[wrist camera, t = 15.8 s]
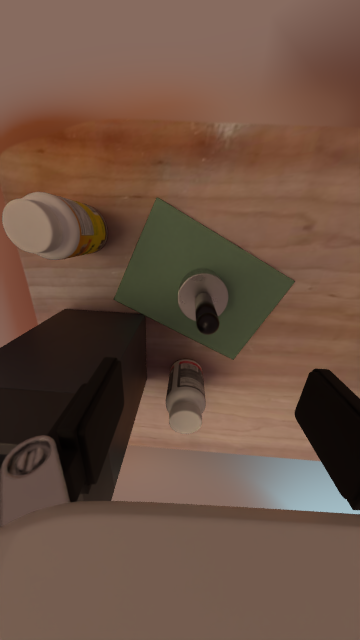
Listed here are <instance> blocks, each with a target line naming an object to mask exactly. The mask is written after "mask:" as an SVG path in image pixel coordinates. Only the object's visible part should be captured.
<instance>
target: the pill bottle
mask: <svg viewBox="0 0 360 640" xmlns="http://www.w3.org/2000/svg"><path fill="white" fill-rule="evenodd" d="M205 406H206V400H205V391H204V381H203V373H202V369H201V366H200V365H199V364H198V363H197V362H195V361H193V360H190V359H182V360H179V361H177V362H175V363H174V364H173V365H172V367H171V369H170V374H169V382H168V389H167V396H166V408H167V410H168V412H169V424H170V426H171V428H172V429H173V430H174V431H176V432H178V433H181V434H191V433H194V432H196V431H197V430H199V429H200V427H201V425H202V413H203V411H204V409H205Z"/></svg>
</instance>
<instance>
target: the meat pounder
mask: <svg viewBox="0 0 360 640" xmlns="http://www.w3.org/2000/svg"><path fill="white" fill-rule="evenodd" d="M227 303H228V291H227V288H226V286H225V284H224V283H223V281H222V280H221V278H220V277H219V276H218V275H217V274H216V273H215V272H213V271H211V270H208V269H196V270H193V271H191V272H189V273H188V274H187V275H186V276H185V277H184V278H183V279H182V281H181V283H180V286H179V292H178V304H179V307H180V309H181V311H182V312H183V314H184V315H185V316H187V317H188V318H190V319H192V320H194V321H196V326H197V329H198V330H199V331H200V332H201V333H202V334H205V335H211V334H213V333H215V332H216V331H217V330H218V328H219V324H220V323H219V318H218V316H219V315H221V314H222V312H223V311H224V310H225V308H226V306H227Z"/></svg>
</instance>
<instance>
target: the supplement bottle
mask: <svg viewBox="0 0 360 640" xmlns="http://www.w3.org/2000/svg"><path fill="white" fill-rule="evenodd" d="M2 221H3V226H4V230H5V232H6V234H7V236H8V237H9V239H10V240H11V241H12V242H13V243H14V244H15V245H16V246H17V247H18V248H20V249H22V250H23V251H26V252H29V253H35V254H37V255H39V256H41V257H43V258H46V259H51V260H60V259H66V258H70V257H75V256H80V255H85V254H90V253H94V252H96V251H98V250H100V249H101V248H102V247H103V246H104V244H105V242H106V240H107V226H106V223H105V221H104V219H103V217H102V216H101V214H100V213H99V212H98V211H97V210H96V209H94V208H93V207H91V206H89V205H87V204H83V203H80V202H77V201H73V200H70V199H66V198H63V197H59V196H56V195H52V194H49V193H44V192H34V193H30V194H28V195H26V196H24V197H23V198H22V199H14V200H12V201H10V202H9V203H8V204H7V205H6V206H5V208H4V210H3V216H2Z"/></svg>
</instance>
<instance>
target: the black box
mask: <svg viewBox="0 0 360 640" xmlns="http://www.w3.org/2000/svg"><path fill="white" fill-rule="evenodd" d="M104 357H116V358H117V359H118V361H121V367H122V379H123V391H124V408H123V411H122V414H121V417H120V420H119V422H118V425H117V428H116V431H115V434H114V437H113V439H112V442H111V445H110V448H109V451H108V453H107V456H106V459H105V462H104V465H103V468H102V470H101V473H100V476H99V479H98V481H97V483H96V484H92V486H91V489H90V491H89V494H80V495H79V497H78V500H77V501H76V502H80V501H111V499H112V496H113V493H114V489H115V485H116V482H117V479H118V475H119V472H120V468H121V465H122V462H123V458H124V455H125V451H126V448H127V445H128V441H129V438H130V434H131V431H132V428H133V424H134V421H135V417H136V414H137V411H138V407H139V404H140V401H141V397H142V394H143V390H144V387H145V384H146V380H147V368H146V321H145V315H143V314H135V313H119V312H103V311H87V310H71V309H64V310H62V311H61V312H59V313H57V314H56V315H54V316H52V317H51V318H49V319H47V320H46V321H44V322H42V323H41V324H39V325H38V326H36V327H34V328H33V329H31V330H29V331H28V332H26V333H24V334H23V335H21V336H19V337H18V338H16V339H14V340H13V341H11V342H9V343H8V344H7V345H4V346H3V347H1V348H0V469H1V465H2V463H3V461H4V459H5V457H6V456H7V455H8V454H9V453H10V452H11V450H12V449H14V448H15V447H16V446H17V445H19V444H20V443H22V442H23V441H25V440H27V439H29V438H32V437H35V436H41V435H45V436H47V434H48V433H49V431H50V430H51V428H52V427H53V425H54V424H55V422H56V421H57V420H58V418H59V417H60V415H61V414H62V412H63V411H64V409H65V408H66V406H67V405H68V404H69V402H70V401H71V399H72V398H73V396H74V395H75V393H76V392H77V390H78V389H79V388H80V386H81V385H82V384H84V383H88V381H89V380H90V378H91V377H92V375H93V373H94V372H95V370H96V369H97V367H98V366H99V364H100V363H101V361H102V360H103V358H104Z"/></svg>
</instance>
